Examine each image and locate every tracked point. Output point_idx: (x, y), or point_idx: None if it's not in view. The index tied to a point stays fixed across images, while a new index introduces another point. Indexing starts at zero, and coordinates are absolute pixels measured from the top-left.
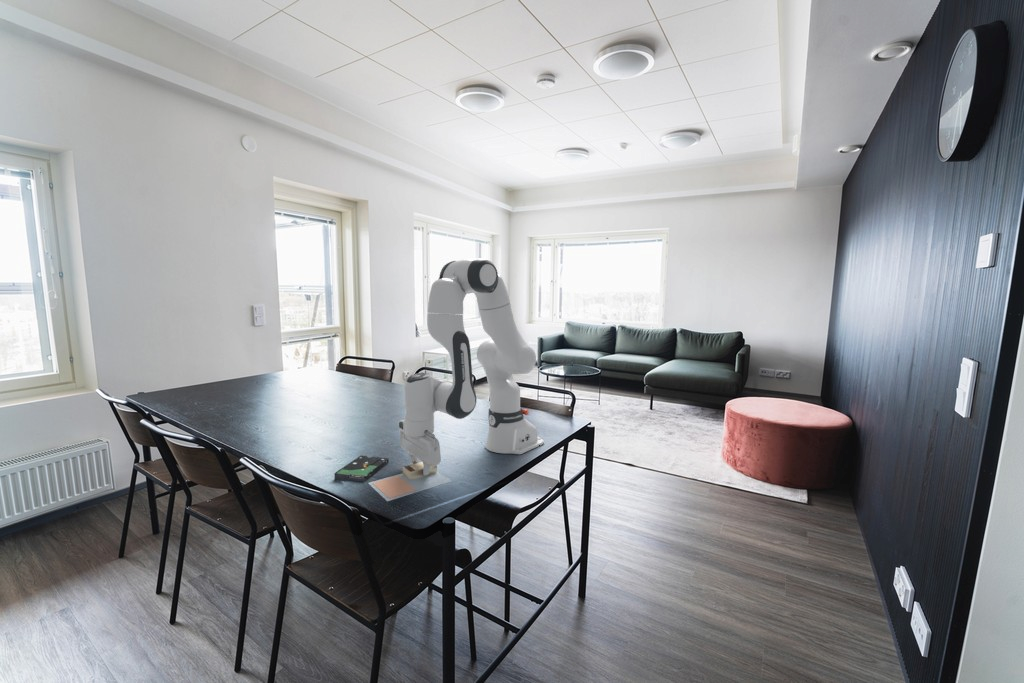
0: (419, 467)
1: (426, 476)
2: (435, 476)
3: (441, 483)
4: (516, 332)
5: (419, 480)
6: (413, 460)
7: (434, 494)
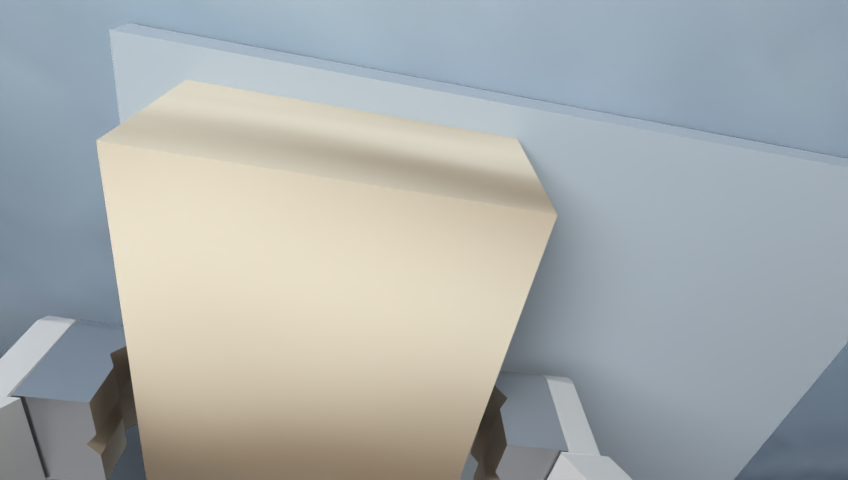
0: (369, 475)
1: None
2: (608, 251)
3: (833, 325)
4: None
5: None
6: (22, 463)
7: (840, 451)
